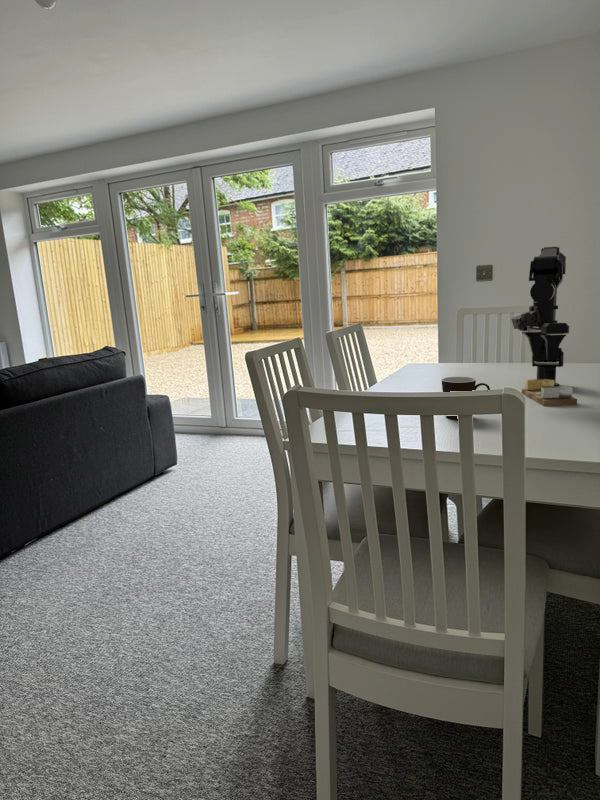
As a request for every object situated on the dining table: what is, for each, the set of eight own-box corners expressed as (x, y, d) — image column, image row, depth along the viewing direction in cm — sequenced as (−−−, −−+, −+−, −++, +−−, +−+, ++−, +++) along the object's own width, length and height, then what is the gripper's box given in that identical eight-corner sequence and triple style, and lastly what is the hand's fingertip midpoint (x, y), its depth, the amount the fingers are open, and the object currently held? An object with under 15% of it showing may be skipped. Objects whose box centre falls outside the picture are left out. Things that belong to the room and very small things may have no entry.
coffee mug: (437, 419, 148) (437, 381, 146) (445, 412, 155) (445, 376, 153) (484, 423, 143) (484, 383, 141) (490, 415, 150) (491, 377, 148)
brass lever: (550, 387, 173) (551, 377, 172) (556, 389, 169) (556, 380, 168) (524, 388, 173) (524, 379, 172) (528, 390, 169) (529, 381, 168)
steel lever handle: (568, 394, 161) (568, 385, 160) (574, 397, 157) (575, 387, 156) (539, 396, 161) (539, 386, 161) (545, 399, 157) (545, 389, 157)
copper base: (521, 393, 174) (521, 388, 173) (551, 392, 173) (551, 386, 173) (543, 405, 157) (543, 399, 157) (576, 404, 157) (577, 398, 156)
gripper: (502, 302, 169) (501, 355, 171) (529, 303, 150) (527, 362, 153) (540, 301, 169) (538, 354, 172) (571, 301, 151) (568, 360, 153)
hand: (541, 357), depth 162 cm, fingers open, 9 cm apart
